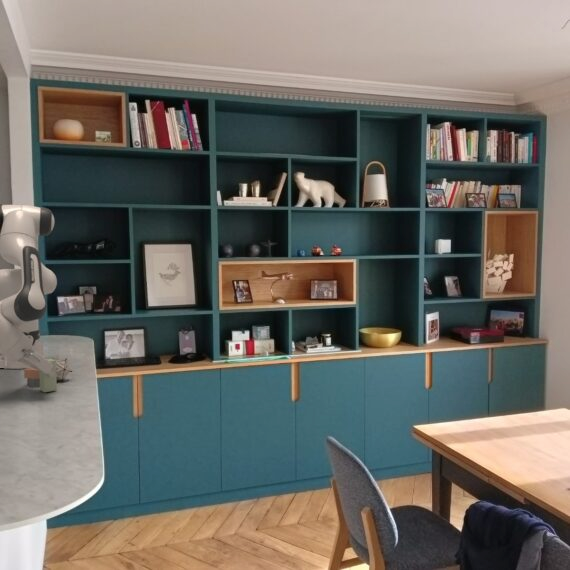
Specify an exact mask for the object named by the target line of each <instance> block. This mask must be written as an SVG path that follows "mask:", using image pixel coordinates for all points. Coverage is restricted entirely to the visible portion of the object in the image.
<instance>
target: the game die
mask: <svg viewBox="0 0 570 570" xmlns="http://www.w3.org/2000/svg"><path fill="white" fill-rule="evenodd" d="M55 360H56V380H57V381H61V382H62V383H64V379H65V378H66V377H67V375H68V374H69V373H72V372H73V370H70V368H69V366H68V363H67V360H68V358H65V359H64V360H63V359H59V360H58V359H55Z"/></svg>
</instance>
